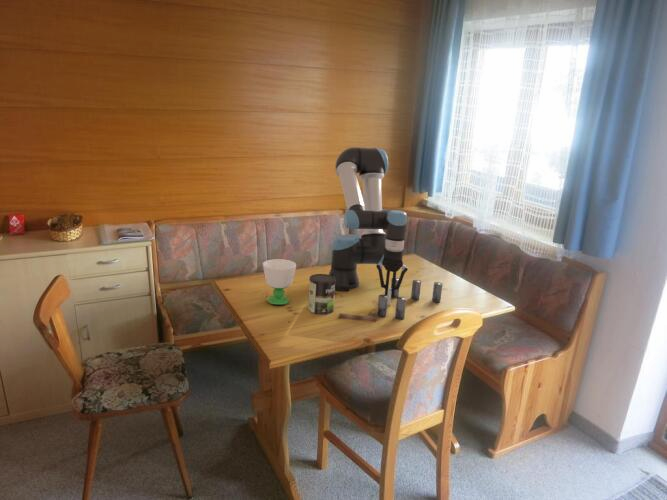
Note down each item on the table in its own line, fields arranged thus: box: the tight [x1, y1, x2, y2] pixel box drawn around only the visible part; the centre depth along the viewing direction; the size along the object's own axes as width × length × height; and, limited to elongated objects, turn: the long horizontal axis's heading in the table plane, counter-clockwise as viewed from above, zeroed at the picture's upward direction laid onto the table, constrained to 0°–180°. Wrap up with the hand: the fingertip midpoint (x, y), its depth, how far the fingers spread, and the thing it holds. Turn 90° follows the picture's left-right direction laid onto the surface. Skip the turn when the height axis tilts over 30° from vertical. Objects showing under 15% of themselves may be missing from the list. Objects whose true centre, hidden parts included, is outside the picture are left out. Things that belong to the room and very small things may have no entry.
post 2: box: [390, 277, 400, 299], centre depth 210 cm, size 4×4×9 cm
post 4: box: [410, 279, 422, 301], centre depth 209 cm, size 4×4×9 cm
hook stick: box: [338, 311, 377, 322], centre depth 187 cm, size 14×6×2 cm, turn 86°
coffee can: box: [307, 273, 336, 316], centre depth 190 cm, size 10×10×14 cm
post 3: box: [394, 296, 407, 321], centre depth 188 cm, size 4×4×9 cm
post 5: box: [431, 281, 444, 304], centre depth 208 cm, size 4×4×9 cm
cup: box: [262, 258, 297, 305], centre depth 199 cm, size 14×14×16 cm
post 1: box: [376, 294, 388, 319], centre depth 189 cm, size 4×4×9 cm
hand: (388, 303), depth 201 cm, fingers closed
